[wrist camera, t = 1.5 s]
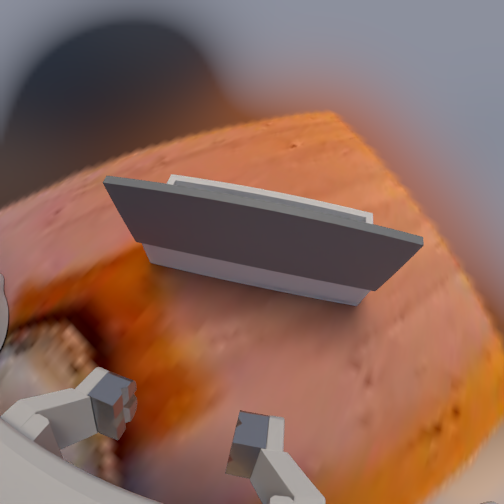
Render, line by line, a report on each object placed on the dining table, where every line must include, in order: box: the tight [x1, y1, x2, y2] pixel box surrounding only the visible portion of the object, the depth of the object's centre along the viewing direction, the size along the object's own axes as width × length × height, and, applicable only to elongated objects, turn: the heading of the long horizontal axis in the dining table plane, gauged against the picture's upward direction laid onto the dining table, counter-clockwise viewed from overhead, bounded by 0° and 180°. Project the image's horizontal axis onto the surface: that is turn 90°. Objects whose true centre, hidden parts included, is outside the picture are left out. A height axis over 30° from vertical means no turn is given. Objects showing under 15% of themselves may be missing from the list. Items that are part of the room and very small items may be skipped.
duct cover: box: [103, 176, 423, 291], centre depth 28 cm, size 28×11×1 cm
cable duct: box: [142, 174, 373, 306], centre depth 39 cm, size 28×11×6 cm, turn 78°
